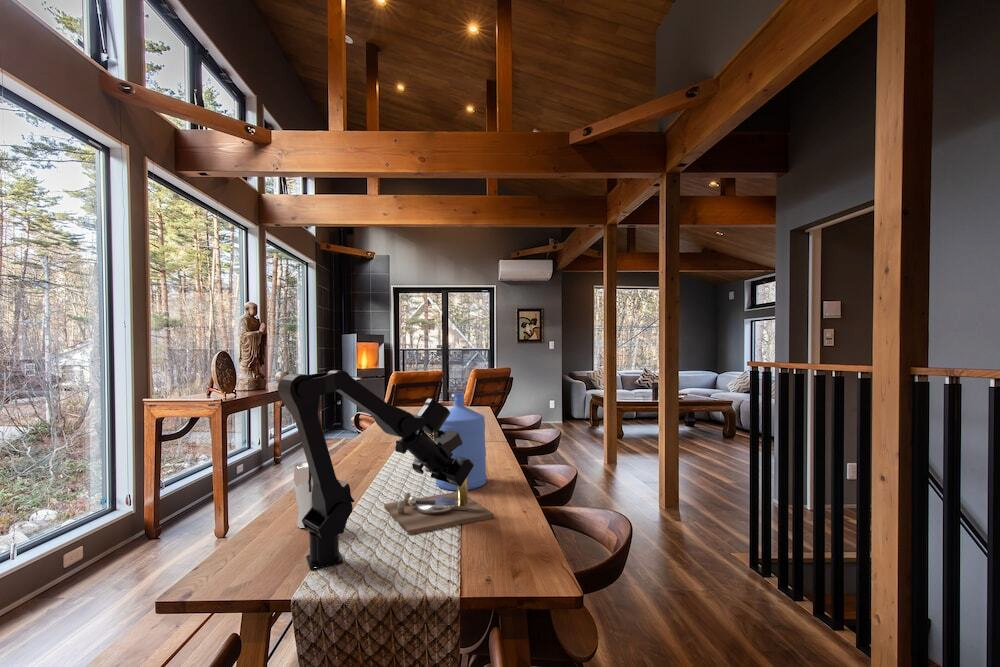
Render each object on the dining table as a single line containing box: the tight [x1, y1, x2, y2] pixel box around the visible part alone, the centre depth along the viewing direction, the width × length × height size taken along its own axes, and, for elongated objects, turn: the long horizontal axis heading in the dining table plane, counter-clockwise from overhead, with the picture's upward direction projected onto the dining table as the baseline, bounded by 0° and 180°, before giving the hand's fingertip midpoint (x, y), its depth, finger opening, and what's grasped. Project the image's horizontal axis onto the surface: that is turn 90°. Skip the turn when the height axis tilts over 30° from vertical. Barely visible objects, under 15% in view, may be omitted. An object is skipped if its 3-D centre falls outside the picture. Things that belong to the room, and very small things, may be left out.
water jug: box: [435, 392, 488, 491], centre depth 161 cm, size 16×16×28 cm
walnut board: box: [383, 491, 494, 535], centre depth 135 cm, size 22×22×4 cm
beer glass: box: [293, 461, 313, 529], centre depth 129 cm, size 7×7×15 cm
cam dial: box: [408, 478, 469, 514], centre depth 135 cm, size 16×10×12 cm, turn 81°
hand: (461, 484), depth 132 cm, fingers closed
